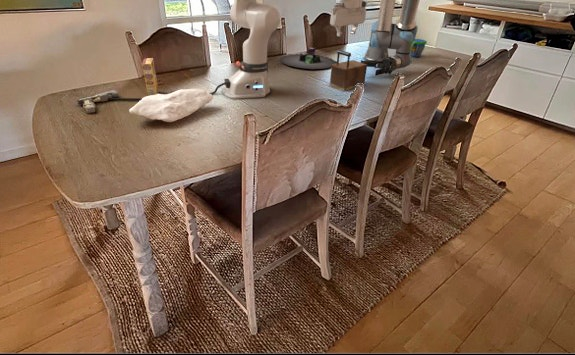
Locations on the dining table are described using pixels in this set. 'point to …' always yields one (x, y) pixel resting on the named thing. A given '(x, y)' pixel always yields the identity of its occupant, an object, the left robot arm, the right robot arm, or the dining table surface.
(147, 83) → the candy box
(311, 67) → the round grey tray
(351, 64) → the lid
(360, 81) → the chest
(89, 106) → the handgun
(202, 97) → the crumpled cloth
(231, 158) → the dining table surface
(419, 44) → the snack cup
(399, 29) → the right robot arm
